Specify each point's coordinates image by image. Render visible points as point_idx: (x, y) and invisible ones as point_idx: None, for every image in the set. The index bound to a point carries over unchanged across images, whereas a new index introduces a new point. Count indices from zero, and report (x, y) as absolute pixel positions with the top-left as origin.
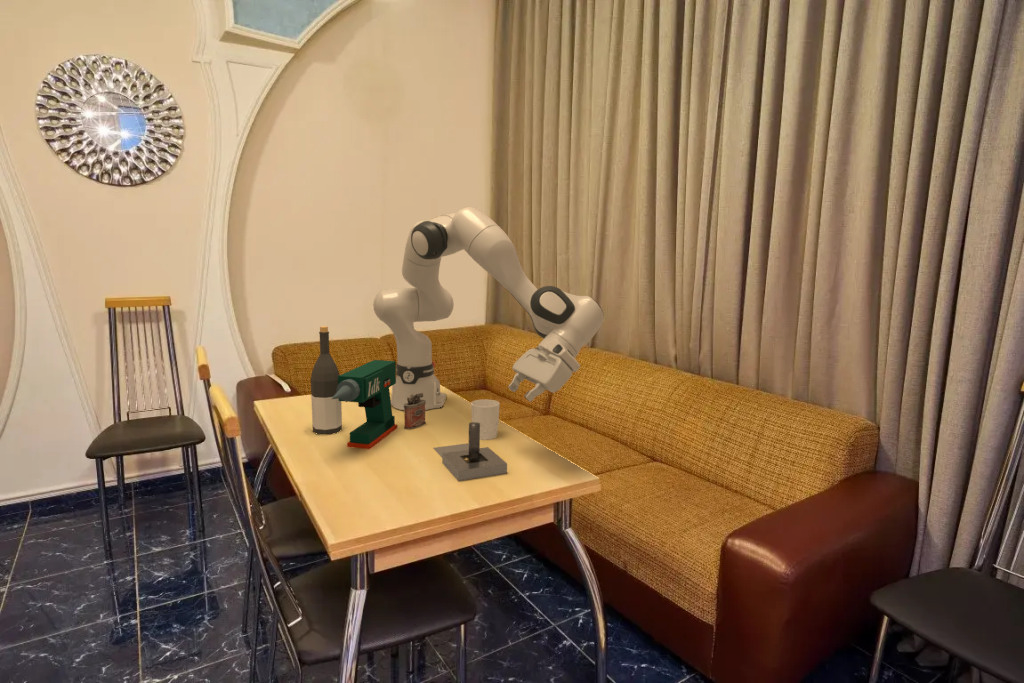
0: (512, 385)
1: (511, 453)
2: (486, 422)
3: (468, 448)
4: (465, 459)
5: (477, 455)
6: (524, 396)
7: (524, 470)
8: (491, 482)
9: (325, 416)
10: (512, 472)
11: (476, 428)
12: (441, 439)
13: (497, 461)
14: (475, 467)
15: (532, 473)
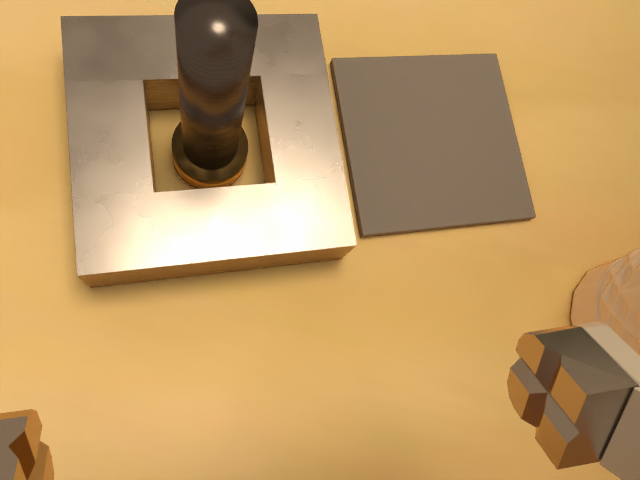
0: (561, 362)
1: (388, 397)
2: (638, 296)
3: (466, 196)
4: (262, 115)
5: (183, 131)
6: (25, 410)
7: (133, 399)
8: (31, 191)
9: None
10: (125, 328)
11: (175, 34)
12: (611, 122)
13: (124, 232)
14: (75, 101)
15: (77, 431)
